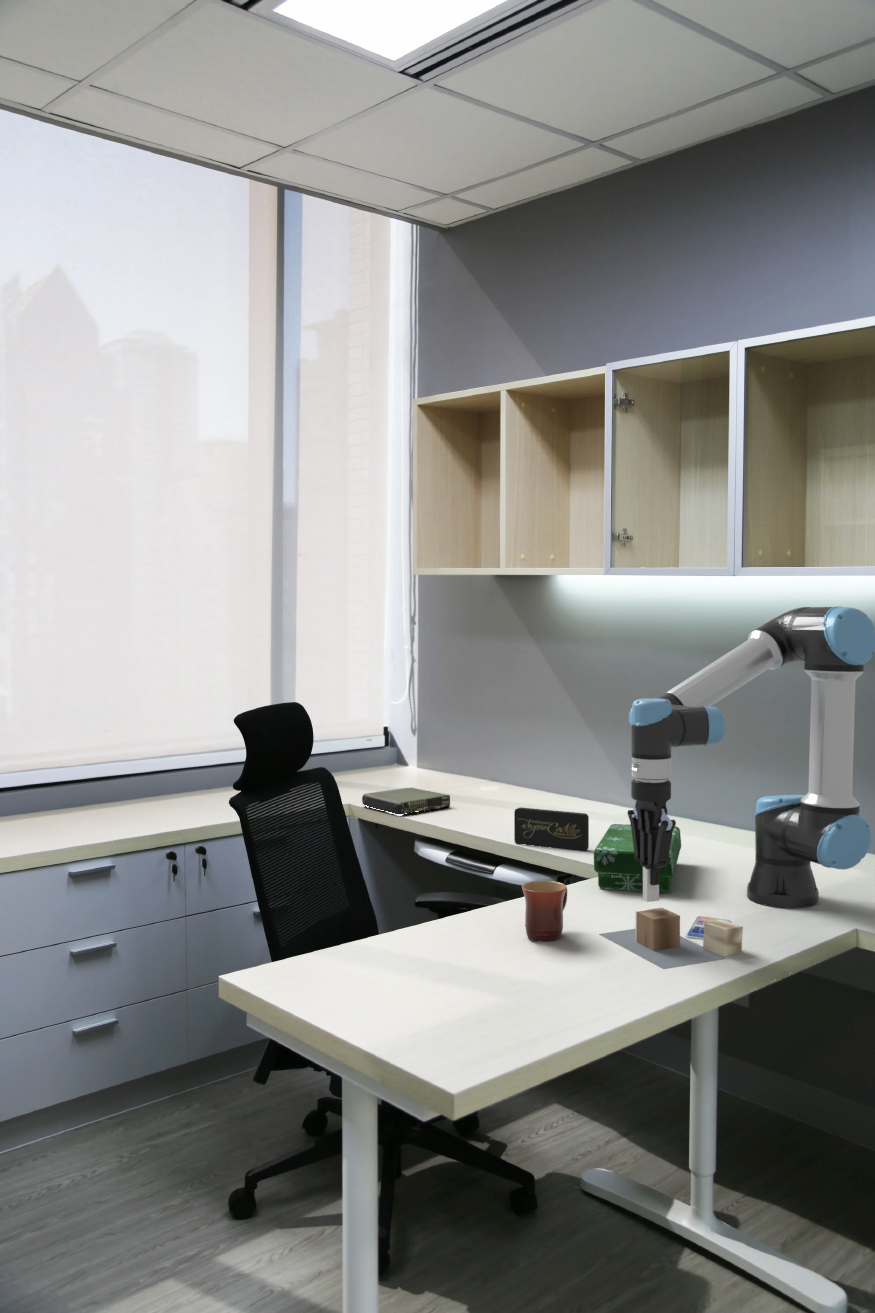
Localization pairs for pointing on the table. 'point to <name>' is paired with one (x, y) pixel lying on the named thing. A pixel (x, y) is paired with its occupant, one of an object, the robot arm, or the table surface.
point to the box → (629, 861)
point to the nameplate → (551, 829)
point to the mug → (544, 909)
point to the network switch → (406, 800)
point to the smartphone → (700, 927)
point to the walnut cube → (657, 929)
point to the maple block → (722, 937)
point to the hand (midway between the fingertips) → (650, 900)
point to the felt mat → (664, 951)
